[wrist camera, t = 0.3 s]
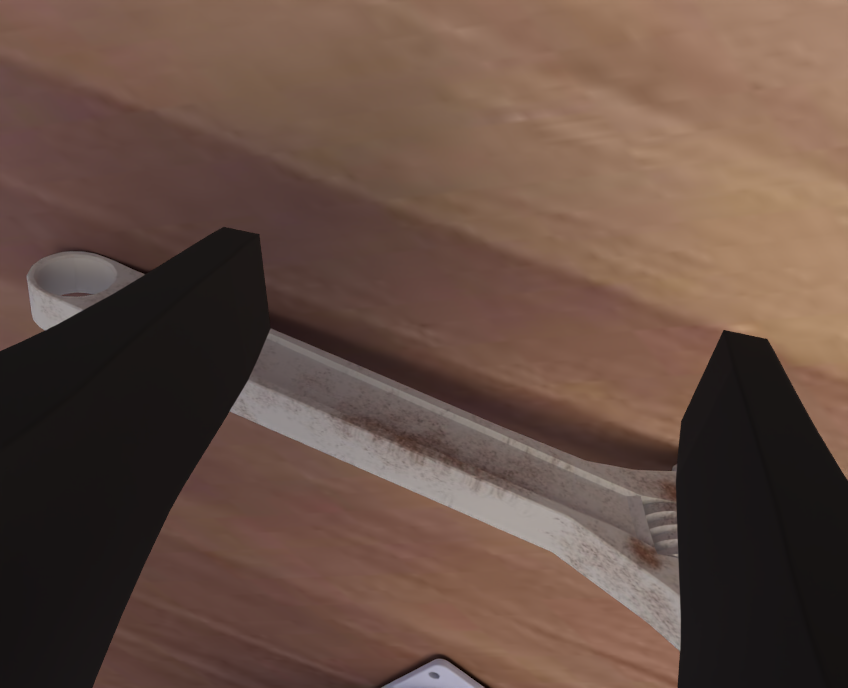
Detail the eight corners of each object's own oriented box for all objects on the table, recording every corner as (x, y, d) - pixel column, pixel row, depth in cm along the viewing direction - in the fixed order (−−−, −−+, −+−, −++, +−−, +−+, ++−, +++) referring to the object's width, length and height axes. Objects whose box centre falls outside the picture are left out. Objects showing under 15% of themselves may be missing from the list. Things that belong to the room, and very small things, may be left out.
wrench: (120, 212, 29) (913, 530, 24) (121, 252, 30) (881, 565, 25) (-59, 309, 23) (970, 772, 17) (-49, 356, 24) (923, 805, 19)
